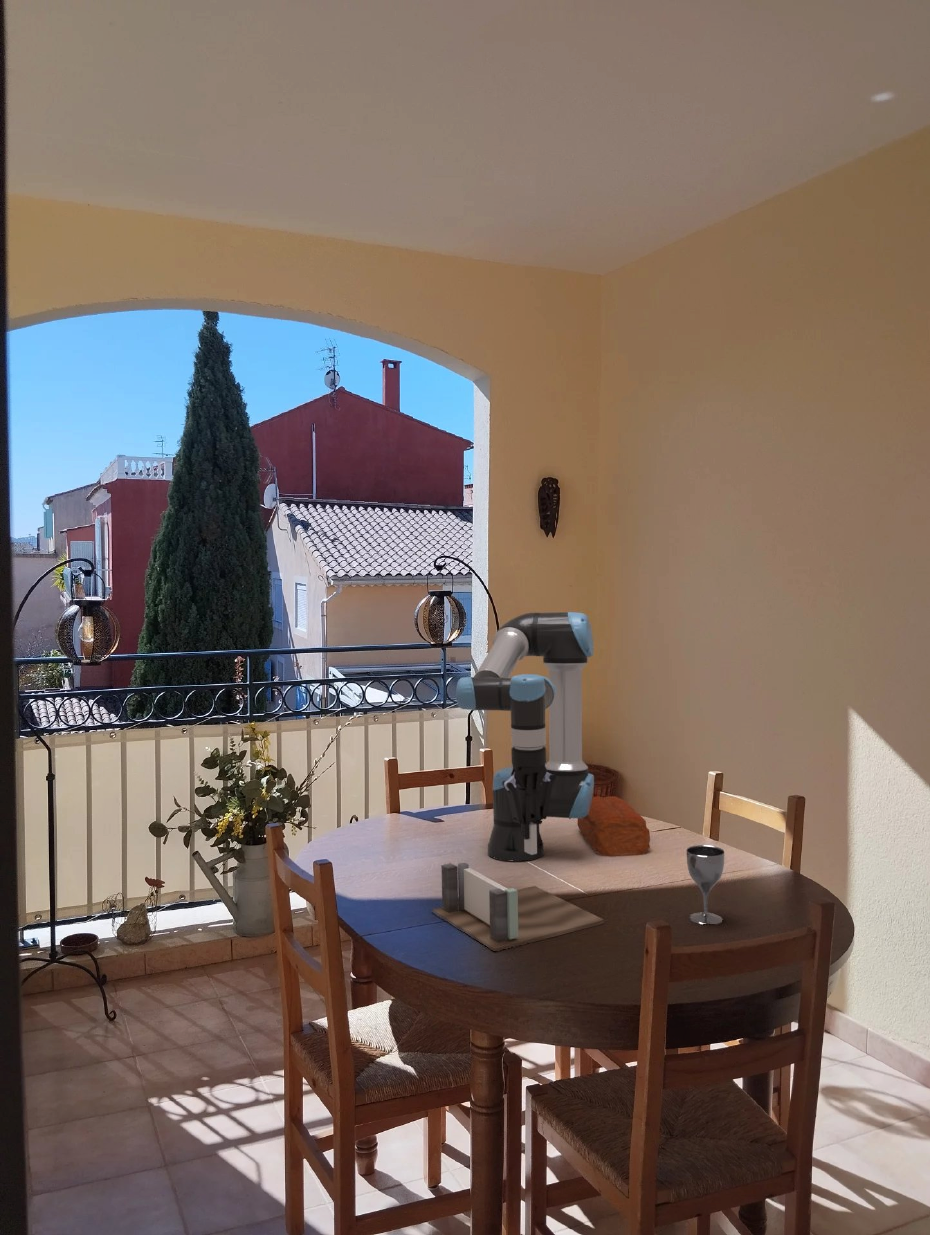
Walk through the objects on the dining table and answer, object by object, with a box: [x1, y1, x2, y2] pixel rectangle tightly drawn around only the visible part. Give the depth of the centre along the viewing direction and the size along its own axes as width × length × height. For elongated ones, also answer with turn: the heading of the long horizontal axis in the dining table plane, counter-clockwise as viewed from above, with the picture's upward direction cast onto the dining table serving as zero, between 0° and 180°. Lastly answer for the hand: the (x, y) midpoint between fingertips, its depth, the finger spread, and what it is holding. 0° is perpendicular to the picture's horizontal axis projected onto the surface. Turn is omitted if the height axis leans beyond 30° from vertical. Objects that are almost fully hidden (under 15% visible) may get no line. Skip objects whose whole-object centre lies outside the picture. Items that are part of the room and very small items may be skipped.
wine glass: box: [686, 844, 725, 925], centre depth 206 cm, size 8×8×15 cm
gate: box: [457, 862, 519, 939], centre depth 204 cm, size 22×2×10 cm, turn 29°
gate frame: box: [431, 862, 605, 952], centre depth 209 cm, size 26×28×11 cm
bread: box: [576, 795, 651, 857], centre depth 265 cm, size 16×27×11 cm, turn 6°
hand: (530, 852), depth 208 cm, fingers closed
